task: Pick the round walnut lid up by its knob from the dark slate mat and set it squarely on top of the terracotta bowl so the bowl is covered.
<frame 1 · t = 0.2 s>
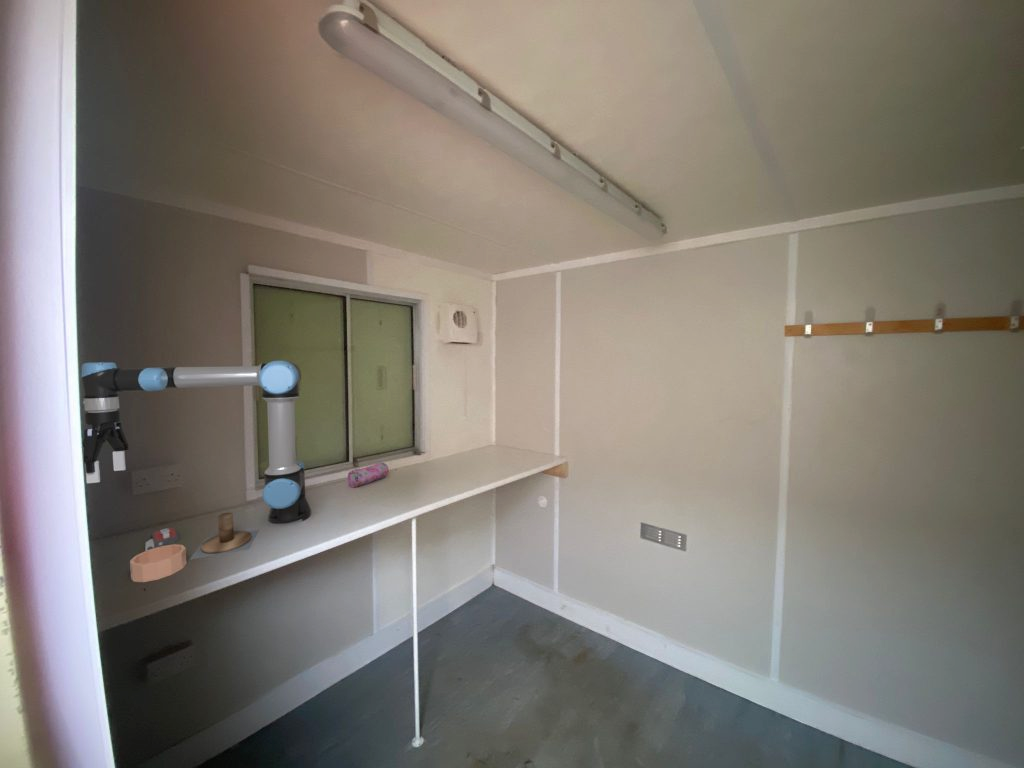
hand: (107, 476, 121), 28 cm above the table, tool pointing down, fingers open, 13 cm apart
slate mat: (227, 546, 131), on the table
walnut lid: (226, 543, 131), point 1 cm above the table, touching slate mat
pencil case: (368, 482, 199), on the table
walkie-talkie: (162, 546, 132), on the table
terracotta bowl: (159, 573, 115), on the table
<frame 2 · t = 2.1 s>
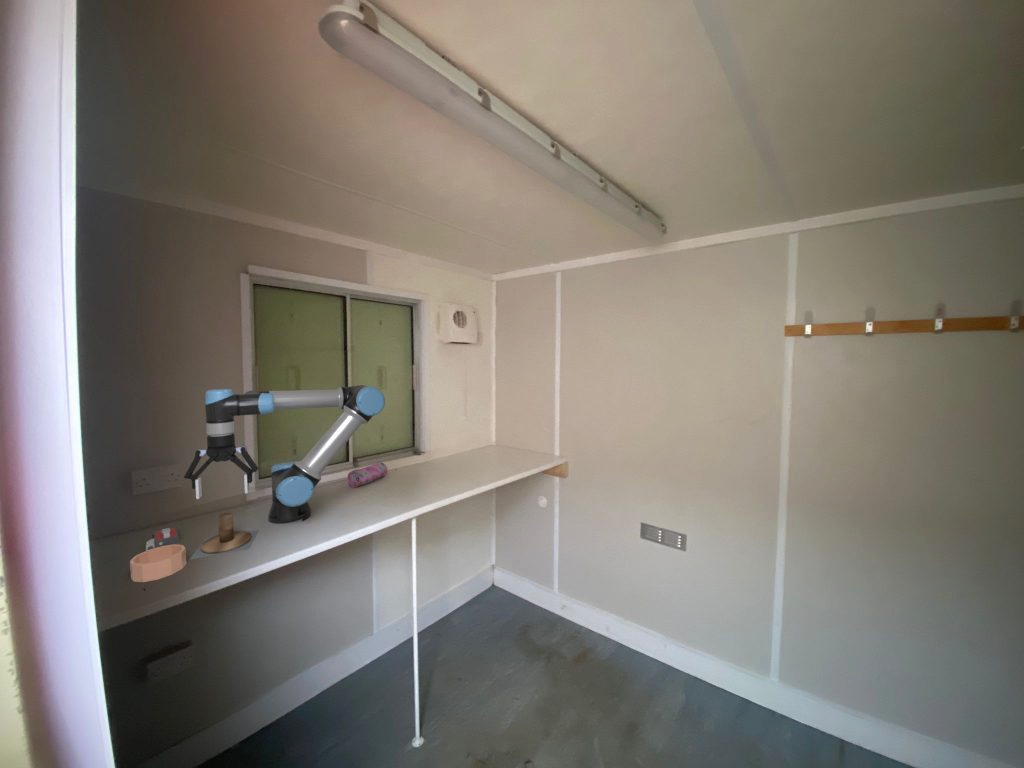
hand: (223, 494, 130), 18 cm above the table, tool pointing down, fingers open, 13 cm apart
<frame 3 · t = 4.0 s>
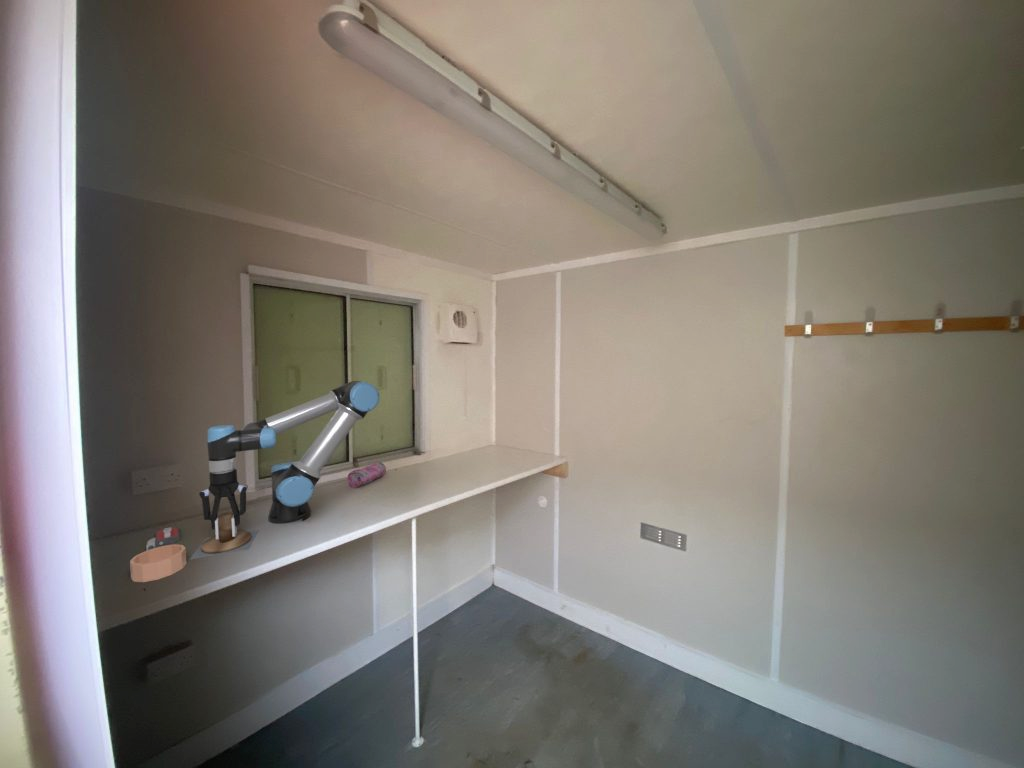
hand: (226, 536, 131), 4 cm above the table, tool pointing down, fingers closed on walnut lid, 4 cm apart
walnut lid: (227, 543, 131), point 1 cm above the table, touching gripper
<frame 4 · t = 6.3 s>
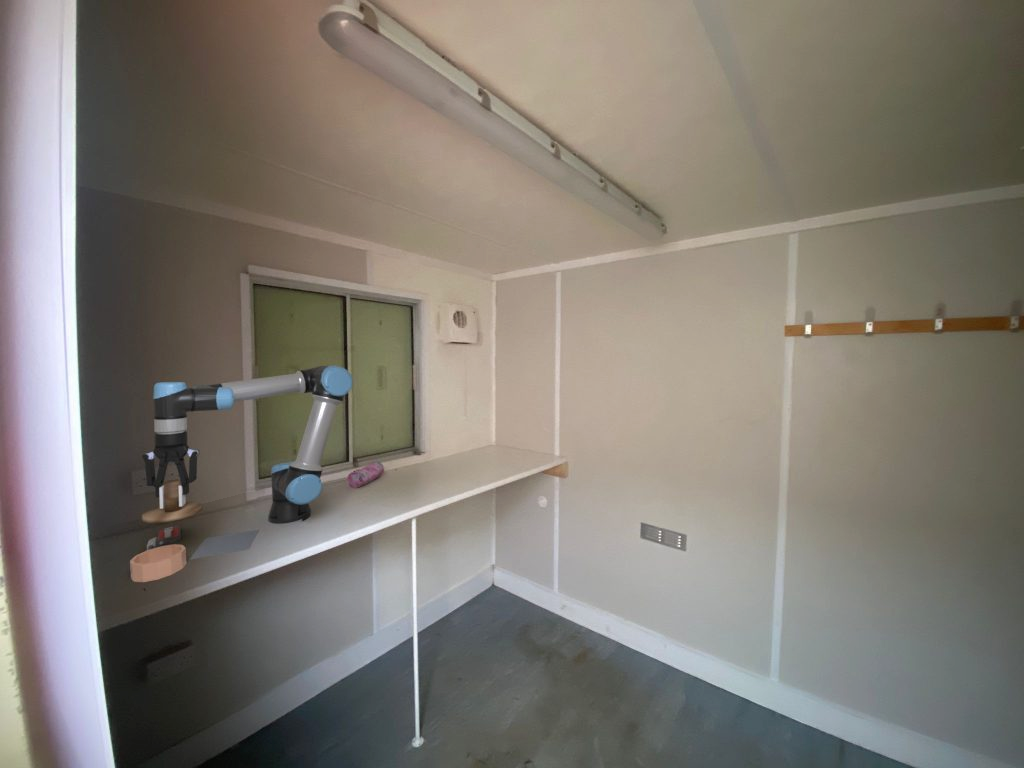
hand: (173, 505, 117), 20 cm above the table, tool pointing down, fingers closed on walnut lid, 4 cm apart
walnut lid: (173, 513, 118), point 17 cm above the table, touching gripper
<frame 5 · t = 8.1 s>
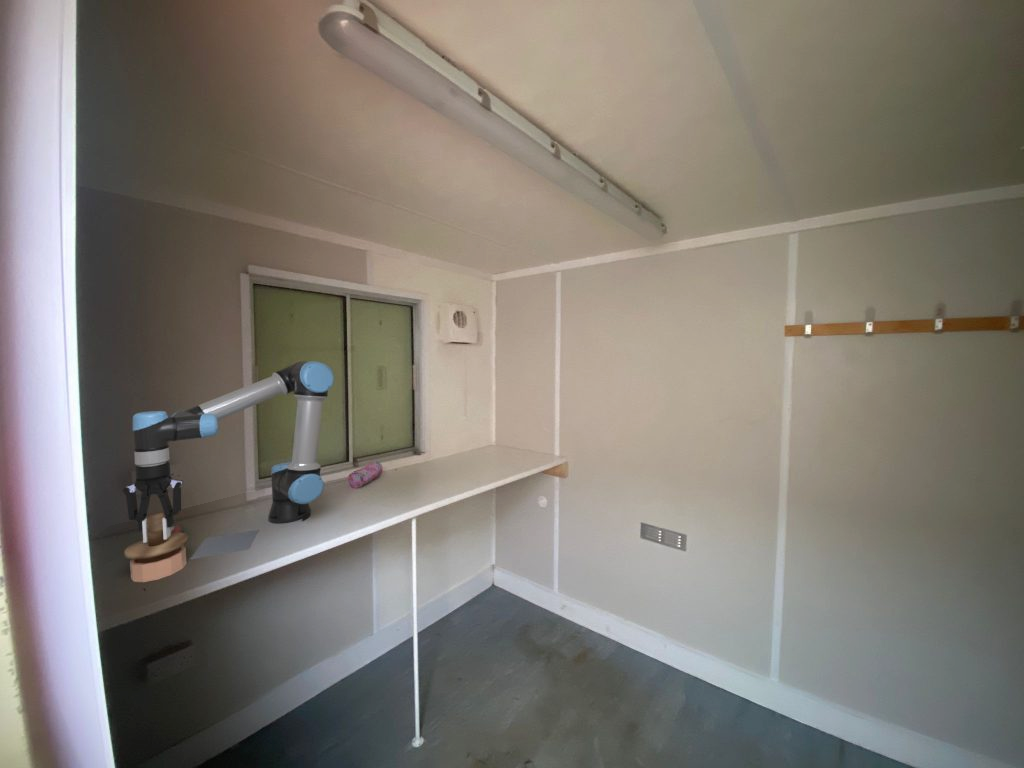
hand: (157, 538, 114), 11 cm above the table, tool pointing down, fingers closed on walnut lid, 4 cm apart
walnut lid: (157, 546, 114), point 8 cm above the table, touching gripper
when the fingers open (10 cm above the table, at t = 8.5 s): walnut lid drops 3 cm, resting on terracotta bowl.
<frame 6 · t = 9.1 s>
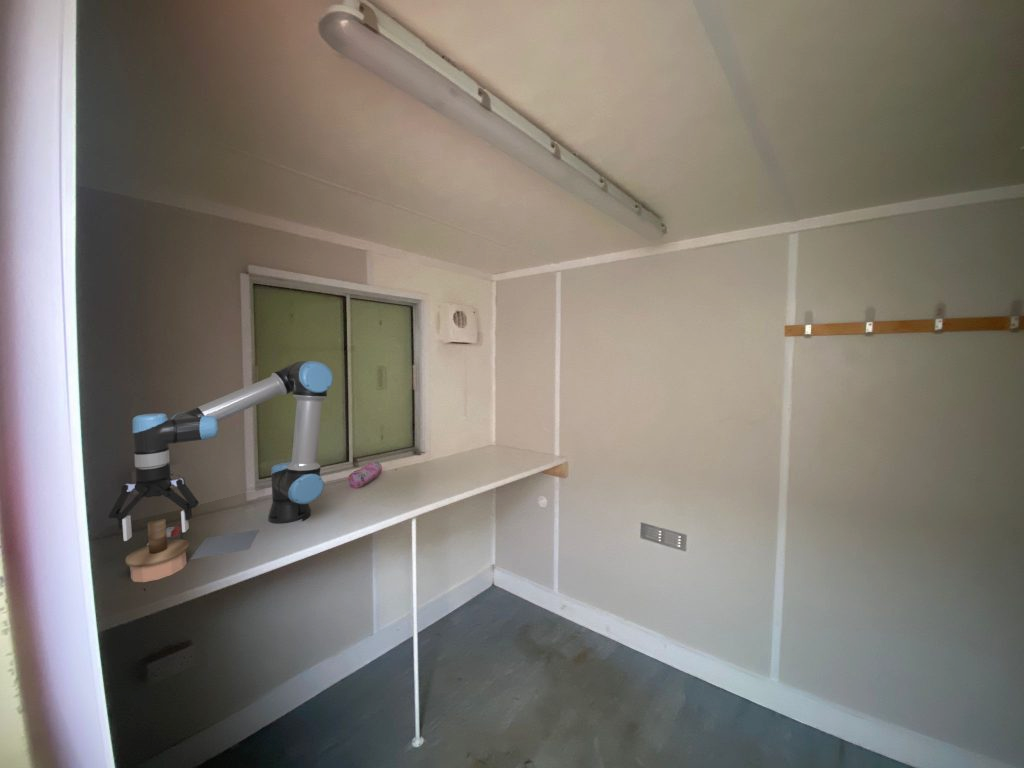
hand: (157, 534, 114), 12 cm above the table, tool pointing down, fingers open, 13 cm apart
walnut lid: (158, 554, 114), point 6 cm above the table, touching terracotta bowl
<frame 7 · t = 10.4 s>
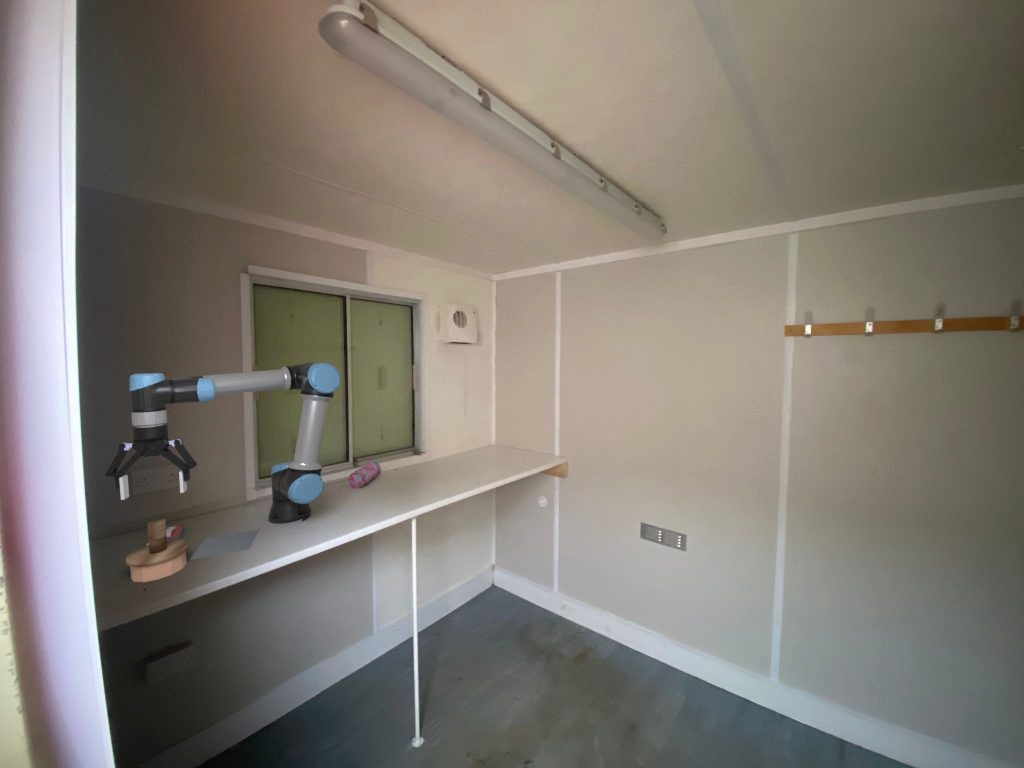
hand: (155, 494, 113), 24 cm above the table, tool pointing down, fingers open, 13 cm apart
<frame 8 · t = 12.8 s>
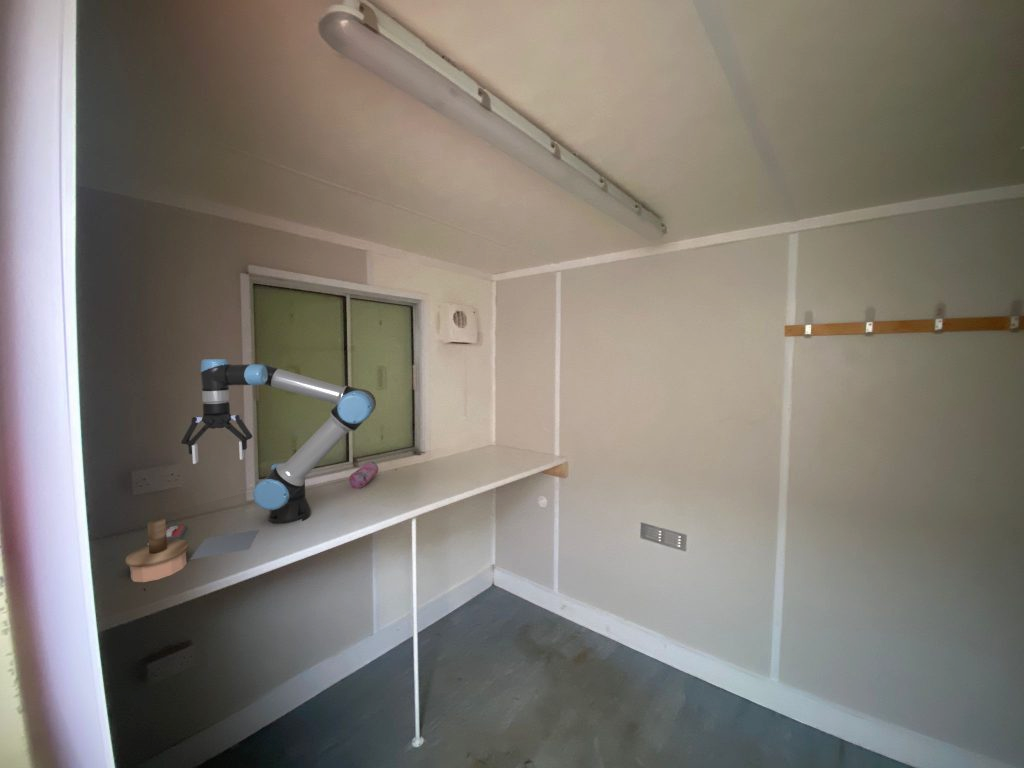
hand: (219, 460, 135), 29 cm above the table, tool pointing down, fingers open, 13 cm apart
at the end: walnut lid 0.0 cm off-centre on the terracotta bowl, point 6.0 cm above the terracotta bowl's base; walnut lid tilted 0°; the gripper is holding nothing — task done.
